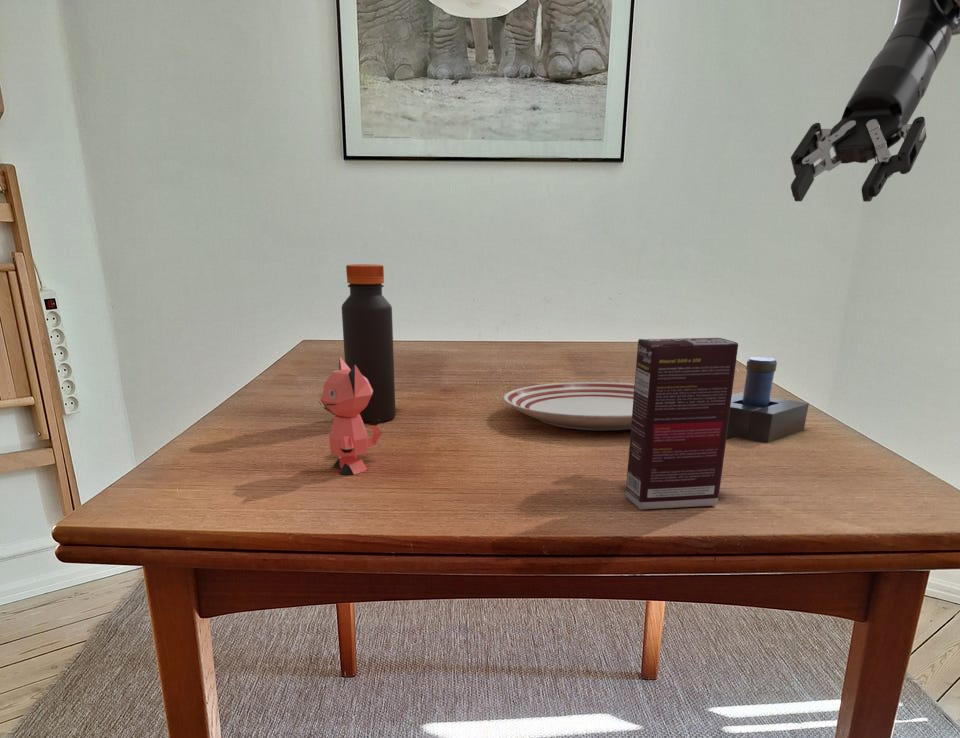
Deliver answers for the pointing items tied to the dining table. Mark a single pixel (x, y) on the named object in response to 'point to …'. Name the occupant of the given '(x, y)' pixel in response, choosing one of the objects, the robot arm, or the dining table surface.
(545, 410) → the dinner plate
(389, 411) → the bottle
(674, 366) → the supplement box
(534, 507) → the dining table surface
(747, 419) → the holder
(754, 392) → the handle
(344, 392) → the cat figurine
